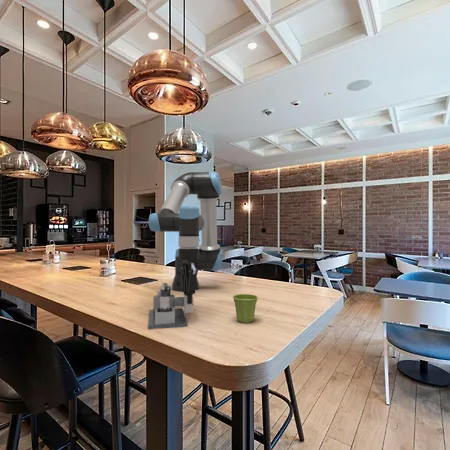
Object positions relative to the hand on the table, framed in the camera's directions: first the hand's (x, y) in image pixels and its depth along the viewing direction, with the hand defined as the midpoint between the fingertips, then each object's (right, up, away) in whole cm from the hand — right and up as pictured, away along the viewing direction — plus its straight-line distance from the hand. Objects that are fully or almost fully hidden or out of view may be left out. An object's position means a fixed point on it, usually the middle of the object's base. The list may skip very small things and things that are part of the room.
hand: (188, 312), depth 103 cm
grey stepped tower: (-8, -2, -5) cm, 9 cm away
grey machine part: (-7, -2, +6) cm, 9 cm away
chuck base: (-8, -3, +1) cm, 9 cm away
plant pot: (+21, -3, 0) cm, 21 cm away
